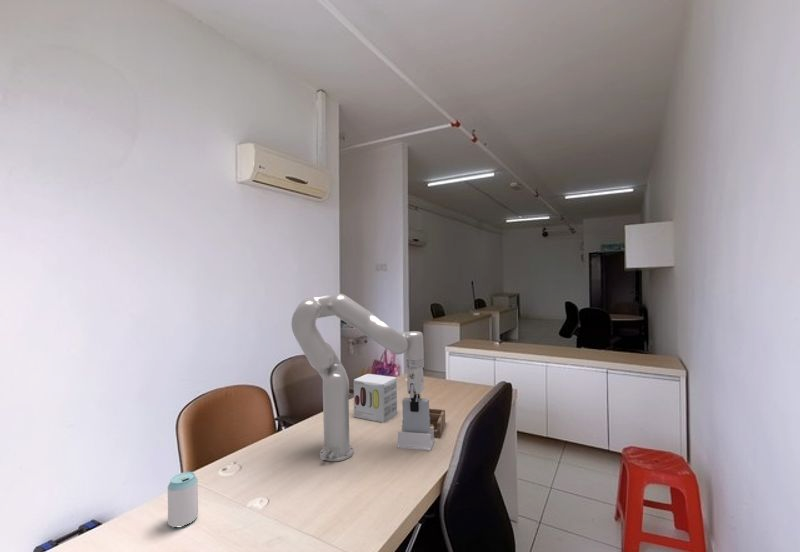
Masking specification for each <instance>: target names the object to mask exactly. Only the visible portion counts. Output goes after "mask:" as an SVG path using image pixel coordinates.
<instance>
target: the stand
mask: <svg viewBox="0 0 800 552" xmlns="http://www.w3.org/2000/svg"><path fill="white" fill-rule="evenodd" d="M434 431H435V429H434V427H430V433H429V434H425V433H413V432H403V424H402V425H401V430H400V431H397V445H396V446H397V447H396V448H397V449H404V450H415V451H422V452H423V451H424V452H426V451H427V452H432V448H433V445H434V443H435V438H434Z"/></svg>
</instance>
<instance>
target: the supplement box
mask: <svg viewBox="0 0 800 552" xmlns="http://www.w3.org/2000/svg"><path fill="white" fill-rule="evenodd" d="M397 379H398V378H397V376H391V375H390V376H389V375H382V374H375V373H374V374H373V373H366V374H364V375H362V376H359V377H357V378H355V379H353V418H358V419H363V420H368V421H372V422H376V423H382V424H385V423H387V422H388V421H389V420H390V419H393V418H394V417H396V416H397V415H398V387H397V385H398V383H397Z"/></svg>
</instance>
